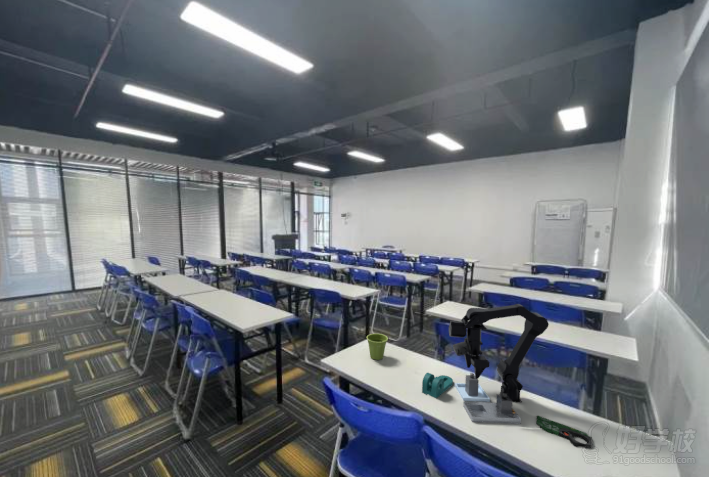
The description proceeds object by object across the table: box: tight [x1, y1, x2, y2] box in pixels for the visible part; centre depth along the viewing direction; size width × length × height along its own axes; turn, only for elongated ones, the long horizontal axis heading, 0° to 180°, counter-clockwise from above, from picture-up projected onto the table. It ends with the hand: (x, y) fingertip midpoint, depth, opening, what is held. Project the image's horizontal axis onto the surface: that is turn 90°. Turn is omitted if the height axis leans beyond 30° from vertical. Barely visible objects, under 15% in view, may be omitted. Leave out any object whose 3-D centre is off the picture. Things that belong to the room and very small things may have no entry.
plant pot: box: [366, 333, 389, 361], centre depth 156 cm, size 12×12×11 cm
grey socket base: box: [462, 392, 522, 425], centre depth 109 cm, size 18×9×9 cm, turn 89°
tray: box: [453, 382, 491, 403], centre depth 123 cm, size 11×11×2 cm
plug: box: [464, 372, 480, 396], centre depth 123 cm, size 4×4×9 cm
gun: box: [535, 415, 593, 450], centre depth 101 cm, size 16×2×10 cm
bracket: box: [421, 372, 454, 399], centre depth 127 cm, size 18×7×8 cm, turn 134°
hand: (472, 372), depth 123 cm, fingers open, 9 cm apart
